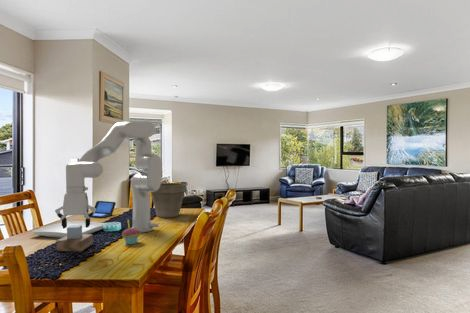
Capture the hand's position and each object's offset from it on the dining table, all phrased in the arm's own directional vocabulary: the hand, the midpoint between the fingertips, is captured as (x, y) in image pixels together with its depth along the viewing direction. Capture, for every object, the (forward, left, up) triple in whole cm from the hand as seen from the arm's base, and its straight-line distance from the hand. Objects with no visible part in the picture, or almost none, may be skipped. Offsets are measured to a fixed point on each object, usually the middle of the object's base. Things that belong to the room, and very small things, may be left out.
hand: (76, 227), depth 150 cm
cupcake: (-24, -4, -9) cm, 26 cm away
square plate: (+10, -29, -10) cm, 32 cm away
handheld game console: (+6, -74, -10) cm, 75 cm away
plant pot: (-39, -69, -9) cm, 79 cm away
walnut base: (0, 0, -9) cm, 9 cm away
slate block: (+1, 0, -4) cm, 4 cm away
